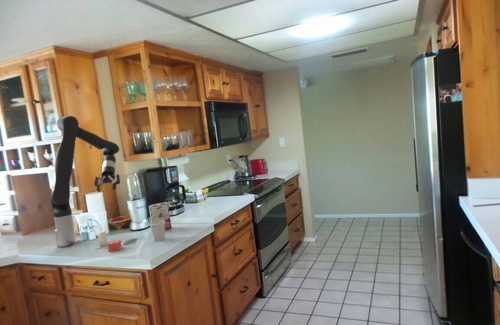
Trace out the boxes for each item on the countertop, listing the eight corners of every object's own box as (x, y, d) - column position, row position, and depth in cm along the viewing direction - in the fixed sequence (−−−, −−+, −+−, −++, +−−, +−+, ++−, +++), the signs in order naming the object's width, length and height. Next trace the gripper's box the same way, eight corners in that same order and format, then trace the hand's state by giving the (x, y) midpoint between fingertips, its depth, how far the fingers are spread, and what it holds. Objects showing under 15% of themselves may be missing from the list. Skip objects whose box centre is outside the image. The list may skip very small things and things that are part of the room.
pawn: (98, 247, 181) (96, 233, 180) (100, 245, 184) (98, 231, 184) (106, 246, 181) (104, 232, 180) (108, 243, 185) (106, 230, 184)
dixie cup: (148, 242, 185) (146, 224, 184) (157, 237, 192) (155, 220, 192) (161, 242, 182) (159, 224, 181) (170, 237, 190) (168, 219, 189)
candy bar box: (169, 227, 212) (166, 201, 211) (171, 228, 208) (168, 202, 207) (151, 231, 207) (148, 205, 206) (153, 233, 203) (149, 206, 202)
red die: (109, 254, 171) (107, 244, 171) (111, 250, 176) (110, 241, 175) (119, 252, 172) (118, 242, 171) (121, 249, 177) (120, 239, 176)
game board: (93, 252, 176) (93, 250, 176) (100, 245, 188) (100, 243, 188) (135, 246, 179) (135, 244, 179) (139, 239, 191) (138, 237, 191)
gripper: (94, 166, 206) (91, 188, 196) (118, 164, 208) (117, 184, 198) (98, 174, 212) (95, 195, 202) (122, 171, 214) (120, 192, 204)
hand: (106, 190), depth 200 cm, fingers open, 8 cm apart
